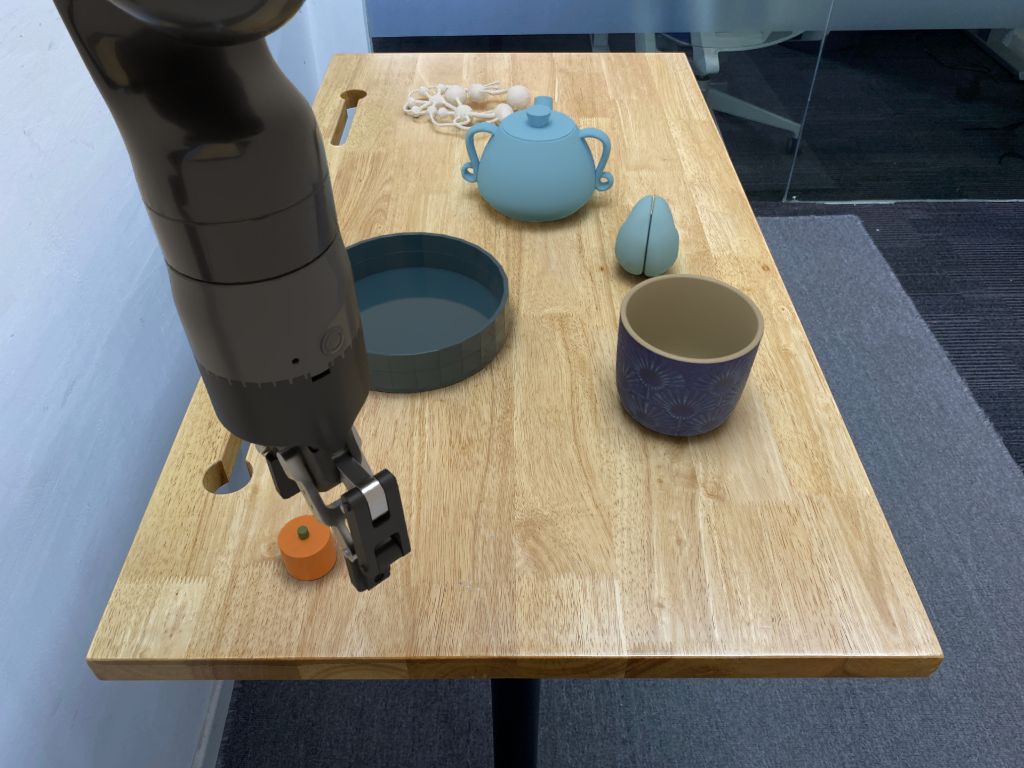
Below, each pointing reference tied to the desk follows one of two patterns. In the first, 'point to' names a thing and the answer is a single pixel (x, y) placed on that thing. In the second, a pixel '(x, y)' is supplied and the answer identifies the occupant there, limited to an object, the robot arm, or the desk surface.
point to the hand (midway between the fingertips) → (332, 532)
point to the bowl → (428, 309)
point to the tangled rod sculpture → (456, 98)
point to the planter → (685, 352)
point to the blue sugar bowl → (537, 164)
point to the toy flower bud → (648, 238)
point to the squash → (307, 548)
